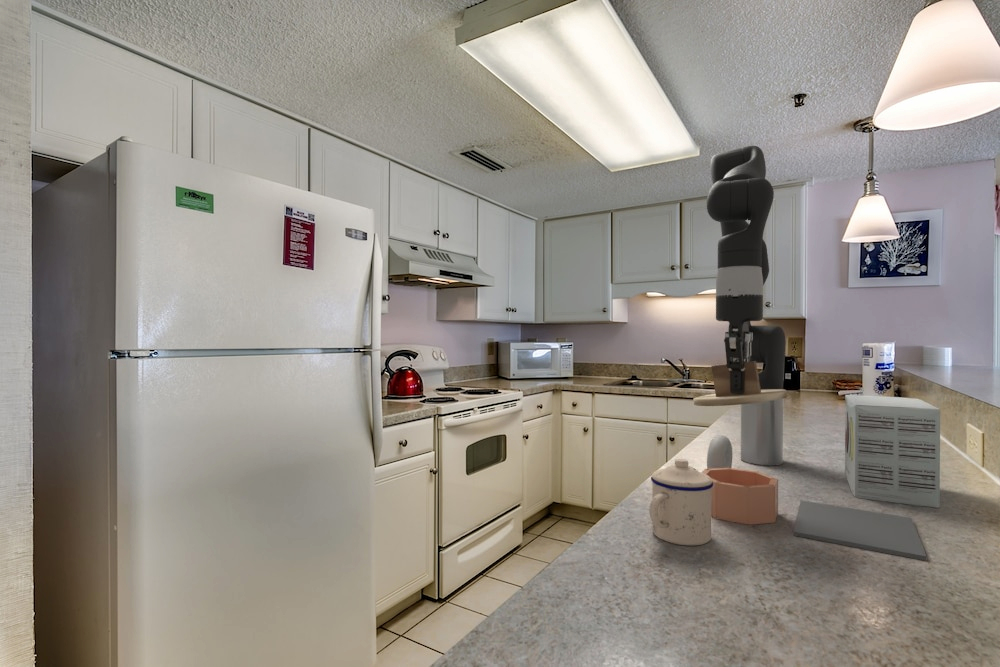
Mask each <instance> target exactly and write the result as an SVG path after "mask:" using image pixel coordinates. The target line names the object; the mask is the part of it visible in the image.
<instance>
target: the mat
mask: <svg viewBox="0 0 1000 667" xmlns="http://www.w3.org/2000/svg"><path fill="white" fill-rule="evenodd" d="M795 519H796V520H795V523H794V527H793V532H792V533H793V534H792V535H793V536H794V537H795V536H796V537H801V538H806V539H812V540H816V541H821V542H827V543H831V544H837V545H843V546H847V547H848V546H849V547H853V548H859V549H863V550H868V551H873V552H880V553H884V554H885V553H886V554H891V555H895V556H899V557H900V556H901V557H905V558H911V559H916V560H921V561H927V554H926V552H925V549H924V547H923V543H922V542H921V539H920V536H919V534H918V531H917V528H916V526H915V524H914V521H913V519H912V517H909V516H903V515H896V514H892V513H891V514H890V513H883V512H878V511H877V512H876V511H871V510H864V509H858V508H852V507H846V506H841V505H840V506H839V505H834V504H826V503H820V502H813V501H806V500H803V499H802V500H801V499H800V502H799V506H798V511H797V513H796V518H795Z"/></svg>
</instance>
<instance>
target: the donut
mask: <svg viewBox="0 0 1000 667" xmlns="http://www.w3.org/2000/svg"><path fill="white" fill-rule="evenodd" d="M732 466H733V446H732V442H731V440H730V438H729V437H728V436H726V435H723V434H718V435H714V437H713V438H712V439H711V440H710V442H709V446H708V448H707V455H706V469H713V468H733V467H732Z"/></svg>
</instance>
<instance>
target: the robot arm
mask: <svg viewBox="0 0 1000 667" xmlns="http://www.w3.org/2000/svg"><path fill="white" fill-rule="evenodd" d="M764 155H765V154H764V152H763V150H762V148H760V147H759V146H758V145H748V146H744V147H739V148H734V149H731V150H726V151H723V152H719V153H716V154H714V155H712V157H711V159H710V175H711V182H712V186H711V187H710V189H709V190H708V193H707V197H706V210H707V211H706V212H707V213H708V216H709V217H710V218H711V219H712V220H713V221H715V222H719V223H720V231H721V237H720V238H719V240H718V243H717V274H716V280H715V320H716V321H718V322H728V330H727V331H725V332H724V339H723V342H724V350H725V359H726V363H725V364H726V366H727V368H728V369H729V371H732V372H730V392H731V393H735V394H742V393H744V385H745V370H746V367H745V362H750V361H756V364H765V366H764V369H763V370H762V371H761V372H759V373H758V377H759V383H760V389H761V390H764V389H783V390H784V379H785V359H786V345H787V344H786V343H787V342H786V333H785V331H784V329H783V328H782V327H781V326H780V325H752V324H751V322H760V321H762V320H763V318H764V285H765V283H766V281H767V279H768V277H769V273H770V265H769V264H770V263H769V257H768V256H769V255H768V249H767V248H768V247H767V244H766V242H765V240H764V238H763V237H764V236H763V235H764V231H765V227H766V224H767V220H768V217H769V214H770V212H771V209H772V204H773V202H774V197H775V196H774V195H775V194H774V192H775V191H774V188H773V186H772V184H771V182H770V181H769V180H768V179H766V176H767V171H766V170H767V169H766V165H767V164H766V160H765V159H766V158H765V156H764ZM748 221H750V222H749V223H748ZM783 450H784V398H783V399H779V400H774V401H768V402H760V403H751V404H741V405H740V460H742V461H743V462H745V463H749V464H754V465H761V466H780V465H782V464H783V463H784V460H783V459H784V453H783V452H784V451H783Z"/></svg>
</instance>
